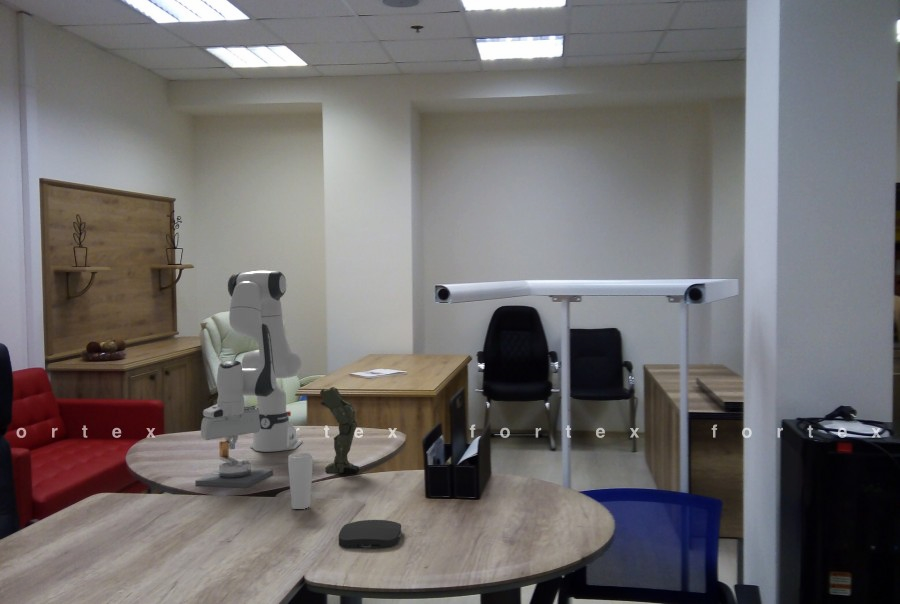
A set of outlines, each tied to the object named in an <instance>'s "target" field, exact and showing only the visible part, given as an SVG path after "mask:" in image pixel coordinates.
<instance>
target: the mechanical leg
mask: <svg viewBox="0 0 900 604" xmlns="http://www.w3.org/2000/svg"><path fill="white" fill-rule="evenodd" d="M319 395H320V396H321V399H322V401H321V402H320V405H322V406H324V407H326V408H327V409H329V410H330V412H331V414H332V415H333V418H335V421H336V422H337V424H338V432H339V434H337V435H336V436H334V437H333V449H334V452H335V455H334V459H333V462H331V463H329V464H327V466H326V467H325V468H324V469H325V473H326V474H327V473H330V474H331V473H333V474H338V473H340V474H356V473H358V472H359V470H360V468H359V465H355V464H354V463H351V462H350V461H349V460H348V454H349V453H350V451H351V447H352V443H353V439H354V435H355V432H356V429H357V425H358V422H357V421H356V411H355V410H354V407H353V405H352V404H351V403H349V402H348V401H346V400H344V399H343V396H342V395H341V393H340V391H339V389H338V388H336V387H333V386H331V387H330V388H329V389H325V388H323V389H321V390H320V391H319Z"/></svg>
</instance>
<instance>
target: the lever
mask: <svg viewBox="0 0 900 604" xmlns="http://www.w3.org/2000/svg"><path fill="white" fill-rule="evenodd" d="M229 450H230V449H229V441H226V440H220V441H219V453H218V454H219V457H220V458H219V460H220V461H223V463H221V464H219V466H218V470H219V476H221V477H225V478H236V477H243V476H247V475H249V474H251V469H252V463H251V462H250V460H247V459H246V460H245V459H244V460H241V461H239V460H237V459H235V458H233V457H230V452H229ZM224 462H225V463H224Z"/></svg>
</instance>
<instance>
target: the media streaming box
mask: <svg viewBox="0 0 900 604" xmlns="http://www.w3.org/2000/svg"><path fill="white" fill-rule="evenodd" d="M401 537H402V524H401V523H399V522H396V521H392V520H387V519H365V520H356V521H353V522H348V523H346V524H344V525H343V526H342V527H341V529H340V531H339V534H338V546H339V547H341V548H344V549H362V550H363V549H365V550H366V549H369V550H370V549H387V548H389V549H390V548H393V547H396V546H397V545H399V543H400V540H401Z"/></svg>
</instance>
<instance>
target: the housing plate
mask: <svg viewBox="0 0 900 604" xmlns="http://www.w3.org/2000/svg"><path fill="white" fill-rule="evenodd" d="M273 474H274V469H270V468H268V469H267V468H251V474H249V475H247V476H243V477H236V478H225V477H221V476H219V469H218V470H216V471H214V472H211V473H208V474H206V475H205V476H202V477H200V478H198V479H196V480H195V481H194V482H195V486H202V487H205V486H206V487H220V488H221V487H222V488H223V487H224V488H244V489H246V488H247V489H248V488H249V487H251V486H252V485H255V484H257V483H259V482H260V481H262V480H264V479H266V478H268V477H270V476H271V475H273Z"/></svg>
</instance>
